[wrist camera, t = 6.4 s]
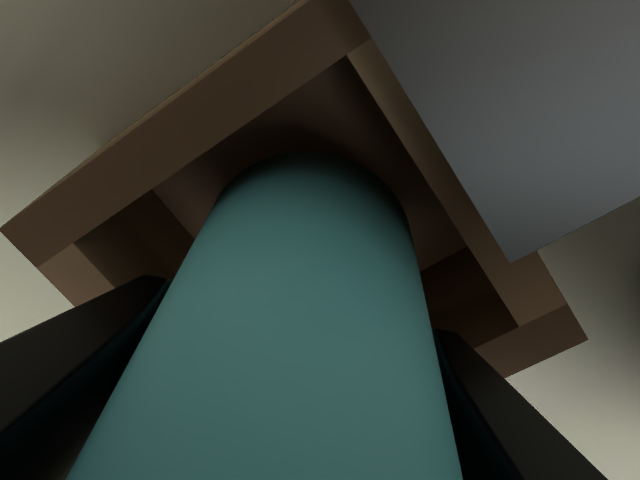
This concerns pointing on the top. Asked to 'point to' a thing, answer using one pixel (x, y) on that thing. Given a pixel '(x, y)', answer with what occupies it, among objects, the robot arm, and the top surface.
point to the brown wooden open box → (385, 151)
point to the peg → (286, 344)
